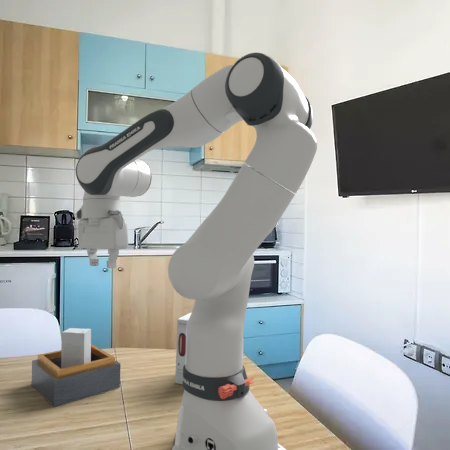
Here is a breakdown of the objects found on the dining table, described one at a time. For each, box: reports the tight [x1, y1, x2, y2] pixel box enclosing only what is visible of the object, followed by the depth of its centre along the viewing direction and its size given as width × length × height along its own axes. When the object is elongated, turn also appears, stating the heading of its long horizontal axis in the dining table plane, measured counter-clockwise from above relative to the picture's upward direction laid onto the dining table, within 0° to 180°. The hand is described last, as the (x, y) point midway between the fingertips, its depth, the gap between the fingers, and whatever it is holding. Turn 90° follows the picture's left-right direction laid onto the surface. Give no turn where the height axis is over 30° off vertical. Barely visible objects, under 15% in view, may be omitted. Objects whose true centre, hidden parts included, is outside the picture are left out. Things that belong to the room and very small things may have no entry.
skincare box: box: [60, 327, 92, 369], centre depth 96 cm, size 6×4×12 cm
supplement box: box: [174, 311, 192, 385], centre depth 101 cm, size 10×9×17 cm
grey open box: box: [31, 343, 121, 408], centre depth 97 cm, size 19×16×8 cm
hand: (102, 267), depth 95 cm, fingers open, 8 cm apart
